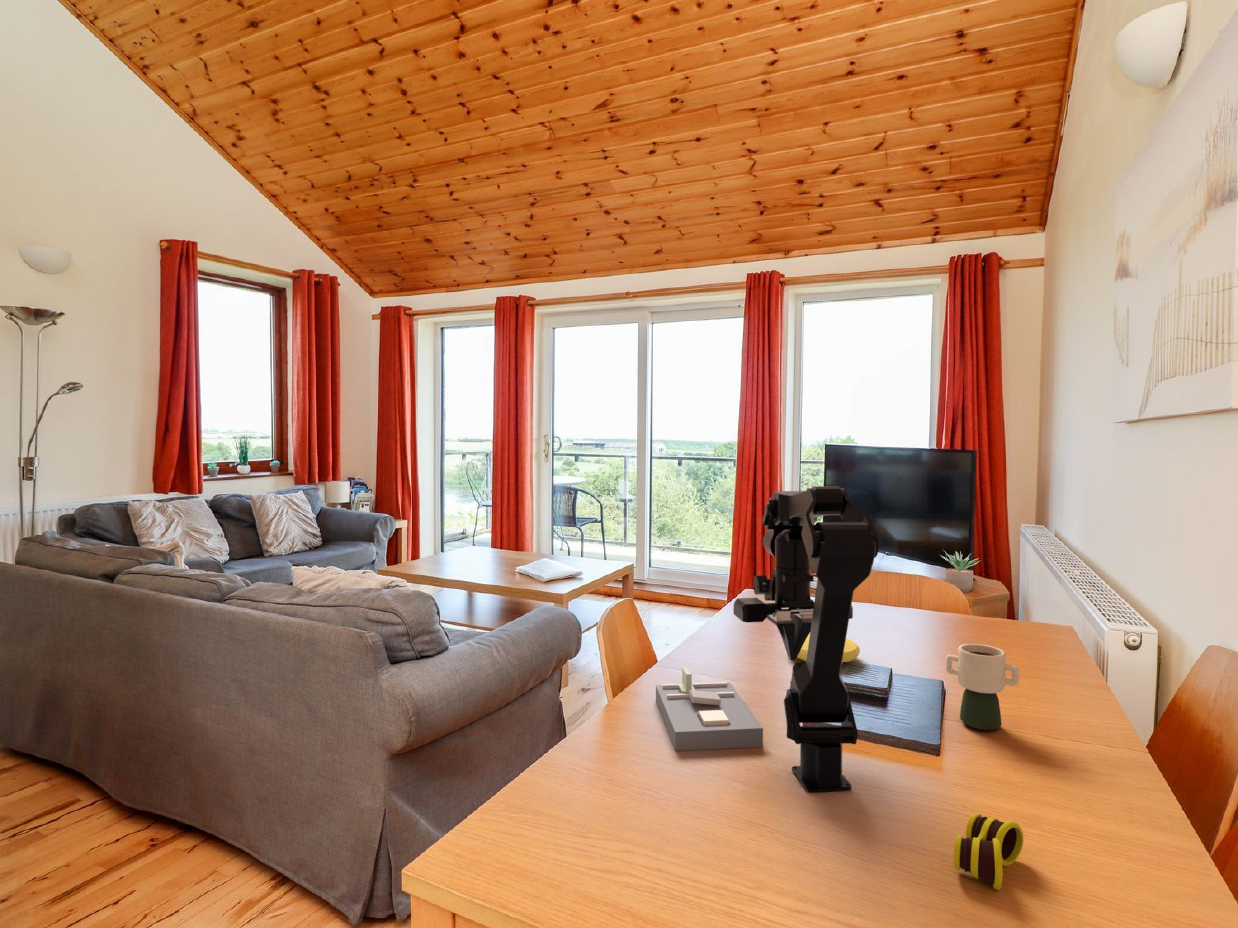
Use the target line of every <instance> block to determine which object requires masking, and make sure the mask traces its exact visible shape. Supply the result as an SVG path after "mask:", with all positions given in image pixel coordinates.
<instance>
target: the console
mask: <svg viewBox="0 0 1238 928" xmlns="http://www.w3.org/2000/svg"><path fill="white" fill-rule="evenodd" d="M678 684H679V683H666V684H665V683H663V684H657V685H656V684H655V703H656V706H657V708H658V710H659V713H660V715H661V718H662V721H663V723H664V726H665V728H666V731H667V734H668V737H669V738H670V742H671V744H672V746H673V749H674V751H675V752H679V751H681V752H682V751H683V752H684V751H701V750H704V751H705V750H725V749H743V748H744V749H746V748H763V747H764V728H763V726H762V725H761V723H760V722H759V720H758V719H757V718H756V716H755V715H754V714H753V712H752V711H751V709H750V707H748V705H747V704H746V702H745V701H744V700H743V698H742V697H741V695H740V694H739V693H738V692H737V690H736V688H735V687H734V686H733V684H732V683H731V682H727V681H720V682H718V681H716V682H714V681H713V682H693V683H692V685H693V687H694V689H695V690H696V691H706V692H716V693H717V694H718V696H719V697H720V699H721V703H720V705H711V704H701V703H693V702H692V700H691V699H690V697H689V693H687V694H682V693H681V691H680V689H679V687H678ZM711 710H723V712H724V713H725V715H726V717H727V718H728V720H729V725H717V726H702V724H701V722H700V720H699V711H711Z"/></svg>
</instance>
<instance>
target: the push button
mask: <svg viewBox="0 0 1238 928" xmlns="http://www.w3.org/2000/svg"><path fill="white" fill-rule="evenodd" d="M699 720H700V722H701V724H702V726H717V725H729V720H728V718H727V717H726V715H725V713H724V712H723V710H711V711H699Z"/></svg>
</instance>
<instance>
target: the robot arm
mask: <svg viewBox="0 0 1238 928" xmlns="http://www.w3.org/2000/svg"><path fill="white" fill-rule="evenodd" d="M824 516H839V518H840V520H841V521H838V522H837V521H836V522H835V521H825V522H824V521H818V517H824ZM761 521H762V525H763V526H764V529H765V530H766V531H765V534H764V536H763V538H762V544H763V547H764V549H765V551H766V552H767V553H768V554H769V555H771V556H773V557H774V569H772V572H771V579H769V578H768V577H767V575H765V574H758V575H754V576H753V594H754V595H755V596H757V595H763V596H764V601H765V602H764V601H762V600H760V599H759V598H758V597H741V598H740V597H739V598H736V599H735V601H734V602H733V615H734V616H735V617H736V618H737V619H739V620H740V621H741V622H742V623H763V622H764V621H765V620H766V619H767V620H768V621H769V622H771V623H772V624H774V625H775V627H776V628H777V630H778V632H779V635H780V637H781V639H782V642H783V644H784V648H785V651H786V655H787V657H788V659H789V660H790V661H796V660H797V659H798V658H797V656H798V654H799V652H800V650H801V648H802V646H803V644H804V642H805V640H806V638H807V637H808V635H809V633H810V638H809V645H808V652H807V659H806V661H804V662H802V661H801V662H798V661H796V662H795V663H794V664H793V666H792V671H791V672H792V673H791V678H790V679H791V680H790V682H789V683H790V687H789V688H788V689H786V694H785V697H784V699H783V706H784V707H783V708H784V714H785V719H786V720H785V722H786V737H787V739H789V740H791V741H794V743H795V745H800V748H799V749H800V750H799V751H800V754H799V755H800V756H799V759H800V760H799V761H800V762H799V764H800V765H793V766H791V771H792V773H793V774H794V775H795V777H796V778H797V780H798V781H799V783H800V784H801V785H802V787H803V788H804V790H805V791H806V792H809V793H811V792H813V793H814V792H832V791H833V792H834V791H848V790H849V791H850V790H852V784H851V783H850V782H849V780H848V779H847V778H846V777H845V776H844V775H843V744H845V745H846V744H847V745H849V744H851V745H856V744H857V743H858V742H857V741H858V735H859V733H858V728H857V725H856V724H857V723H856V719H855V716H854V711H853V707H852V703H851V698H850V695H849V691H848V690H847V687H846V685H845V683H844V680H843V678H842V676H841V671H842V670H841V669H842V665H843V663H842V659H843V653H844V647H845V641H846V638H847V635H848V627H849V621H850V620H851V619H853V618H854V611H853V610H854V608H853V605H852V603H853V597H854V591H855V590H856V589H857V588H858V587H859V586H860V585H861V584H863V582H864V581H866V580H867V579H868V578H869V577H870V575H871V572H872V569H873V565H874V561H875V558H877V557H878V554H879V550H880V549H879V546H880V545H879V543H880V542H879V537H878V533H877V532H876V531H877V530H876V529H875V527H874V525H873V523H872V519H871V517H870V515H869V513H867V511H865V510H863V509H862V508H861V507H860V506H858V505H857V504H856V503H855V502H853V501H852V500H851V499H850V498H849V494H848V492H847V490H846V489H845V488H843V487H842V488H841V487H840V486H837V485H836V486H835V485H834V486H819V485H818V486H815V485H814V486H811V487H808V488H807V489H806V490H799V491H798V490H796V491H795V490H793V491H792V490H775V491H774V492H773V493H772V495H771V497H769V499H768V501H767V503H766V505H765V509H764V513H763V516H762V520H761ZM811 567H812V569H813V571H814V573H815V576H816V577H817V581H816V588H815V595H814V600H813V599H811V583H813V582H814V579H815V576H814V574H812V572H811ZM766 601H768V602H766ZM770 601H772V602H770ZM800 723H801V724H802V723H805V724H807V723H808V724H809V723H810V724H812V723H816V724H817V723H819V724H822V723H823V724H828V723H831V724H839V723H840V725H801V724H800Z"/></svg>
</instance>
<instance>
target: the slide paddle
mask: <svg viewBox="0 0 1238 928" xmlns="http://www.w3.org/2000/svg"><path fill="white" fill-rule="evenodd" d="M681 668H682V669H681V670H682V673H681V680H682V681H681V683H677V684H678V687H679V689H680V691H681V693H682V694H687V693H689V691H690V690H695V689H694V687H693V685H692V680H693V679H692V677H693V676H692V675H693V674H692V672H691V670H690V669H689V668H688V667H681Z"/></svg>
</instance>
